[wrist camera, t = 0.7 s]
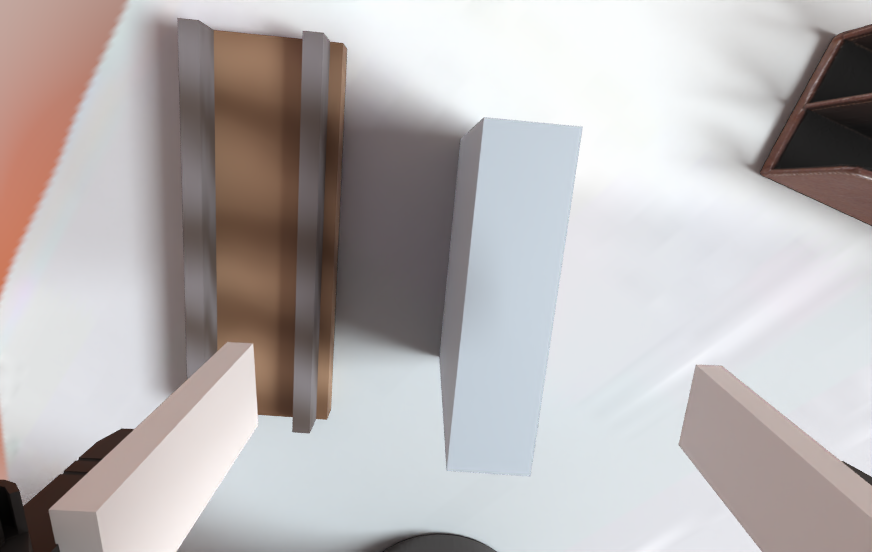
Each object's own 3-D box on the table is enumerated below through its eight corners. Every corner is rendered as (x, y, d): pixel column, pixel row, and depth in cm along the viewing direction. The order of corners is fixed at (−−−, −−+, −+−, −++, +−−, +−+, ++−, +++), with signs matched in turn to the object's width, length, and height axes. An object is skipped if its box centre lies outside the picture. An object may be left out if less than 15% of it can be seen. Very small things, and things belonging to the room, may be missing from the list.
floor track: (330, 409, 37) (321, 434, 33) (200, 400, 36) (176, 424, 33) (347, 49, 31) (337, 34, 28) (192, 33, 31) (163, 16, 27)
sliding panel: (491, 360, 36) (530, 476, 23) (439, 356, 36) (446, 470, 22) (517, 144, 33) (582, 126, 19) (460, 139, 33) (484, 117, 19)
